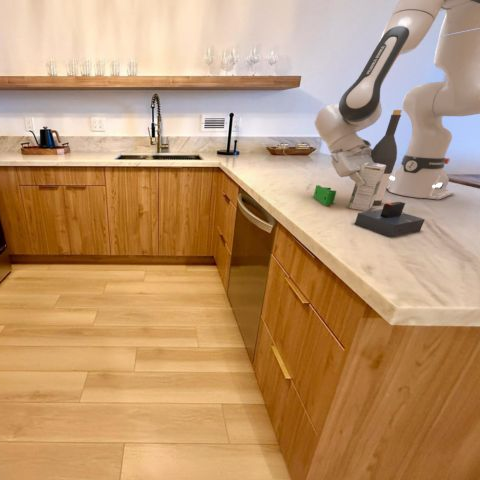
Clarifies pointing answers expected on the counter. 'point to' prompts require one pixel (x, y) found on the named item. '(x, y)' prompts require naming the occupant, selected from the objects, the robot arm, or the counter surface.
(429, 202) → the counter surface
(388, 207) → the black small block
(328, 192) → the pipe clamp
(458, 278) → the counter surface
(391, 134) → the wine bottle
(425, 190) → the robot arm
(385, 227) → the block
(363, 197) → the syrup box
